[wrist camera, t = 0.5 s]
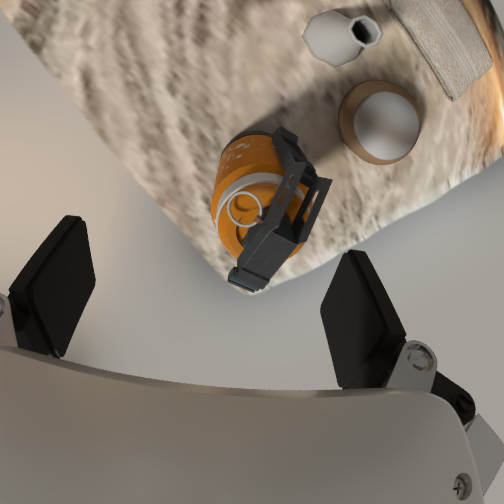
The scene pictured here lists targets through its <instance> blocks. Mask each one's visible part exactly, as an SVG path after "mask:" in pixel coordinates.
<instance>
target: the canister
mask: <svg viewBox="0 0 504 504" xmlns="http://www.w3.org/2000/svg"><path fill="white" fill-rule="evenodd" d="M297 142H298V137H297V136H296V135H294V134H293V133H291V132H289V131H288V130H286V129H285V128H283V127H281V126H280V127H279V128H278V129H277V131H276V132H275V133H274V134H273V135H271V134H269V133H265V132H259V131H256V132H247V133H244V134H241V135H239V136H237V137H235V138H234V139H233V140H231V141H230V142H229V143H228V144H227V146H226V147H225V148H224V150H223V152H222V154H221V158H220V162H219V167H218V172H217V176H216V181H215V187H214V192H213V197H212V202H211V216H212V220H213V223H214V226H215V228H216V232H217V236H218V238H219V240H220V242H221V244H222V245H223V247H224V248H225V249H226V250H227V251H228V252H229V253H230V254H231V255H233V256H234V257H235V258H237V267H233V268H232V269H231V271H230V273H229V275H228V282H229V283H231V284H234V285H236V286H238V287H241V288H243V289H246V290H248V291H250V292H253V293H254V292H255V291H258V290H259V289H264V288H265V286H266V285H267V284H268V283H269V281H270V279H271V278H272V276H273V275H274V274H275V273H276V272H277V270H278V269H279V268H280V267H281V266H282V264H283V263H284V262H285V261H286V260H287V259H288V258H290V257H292V256H293V255H294V254H296V253H297V252H298V251H299V250H300V249H301V247H302V246H303V245H304V243H305V242H306V241H307V239H308V236H309V234H310V232H311V229H312V227H313V225H314V223H315V220H316V218H317V216H318V213H319V211H320V209H321V206H322V204H323V202H324V199H325V197H326V195H327V192H328V190H329V188H330V185H331V183H332V179H327V178H322V177H318V176H317V174H316V170H315V168H314V167H313V166H312V164H311V162H309V161H308V160H307V158H306V157H305V155H304V154H303V152H302V151H301V149H300V148H299V146H298V145H297ZM307 187H308V188H309V189H308V188H307ZM316 191H319V192H318V195H317V197H316V200H315V202H314V204H313V207H312V199H313V197H314V194H315V193H316ZM254 290H255V291H254Z"/></svg>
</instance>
